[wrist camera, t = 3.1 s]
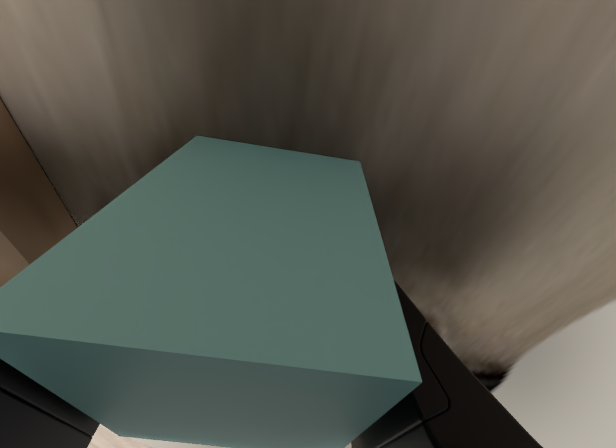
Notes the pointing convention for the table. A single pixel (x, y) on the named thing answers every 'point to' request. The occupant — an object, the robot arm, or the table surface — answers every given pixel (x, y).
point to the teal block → (221, 305)
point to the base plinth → (25, 204)
